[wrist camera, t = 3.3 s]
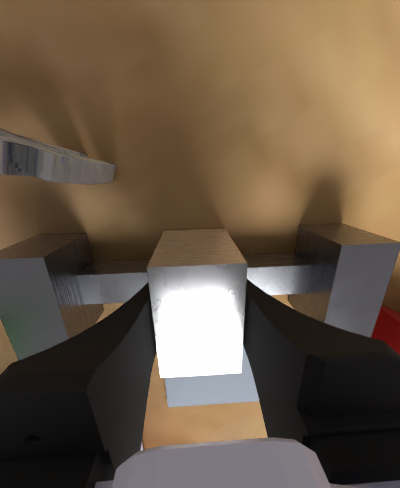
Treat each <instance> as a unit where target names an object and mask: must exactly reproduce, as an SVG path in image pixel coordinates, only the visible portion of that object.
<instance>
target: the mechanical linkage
mask: <svg viewBox="0 0 400 488" xmlns="http://www.w3.org/2000/svg"><path fill="white" fill-rule="evenodd" d="M371 338H374V339H378V340H381V341H384V342H385V343H386V344H388V345H389V346H390V347H391V348H392V349H393V350H395V351H396V352H397V353H398V354H399V355H400V313H399V312H396V311H394V310H392V309H389V308H387V307H385V306H383V305H381V308H380V311H379V314H378V317H377V320H376V323H375V326H374V329H373V332H372V336H371Z"/></svg>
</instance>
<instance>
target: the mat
mask: <svg viewBox="0 0 400 488" xmlns="http://www.w3.org/2000/svg"><path fill="white" fill-rule="evenodd" d="M165 385H166V393H167V402H168V407H179V406H193V405H208V404H222V403H237V402H251V401H259V397H258V393H257V389H256V385H255V381H254V377H253V374H252V370H251V366H250V363H249V360H248V357H247V354H246V352H245V349H244V346H243V349H242V366H241V373H230V374H214V375H199V376H183V377H167V378H165Z"/></svg>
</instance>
